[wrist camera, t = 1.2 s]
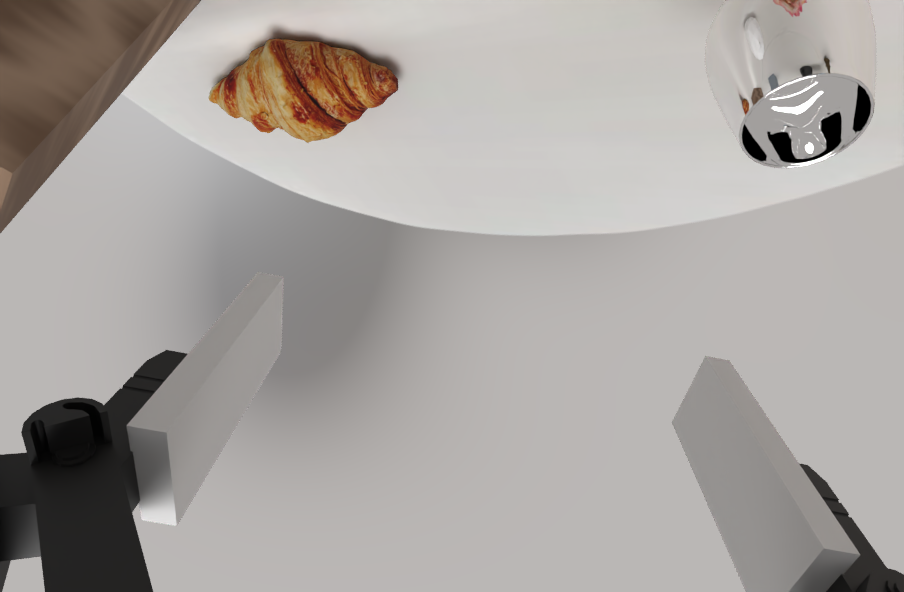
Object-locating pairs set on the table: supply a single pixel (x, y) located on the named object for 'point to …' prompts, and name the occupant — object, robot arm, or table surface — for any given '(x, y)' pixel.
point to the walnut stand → (67, 77)
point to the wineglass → (793, 76)
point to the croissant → (303, 88)
